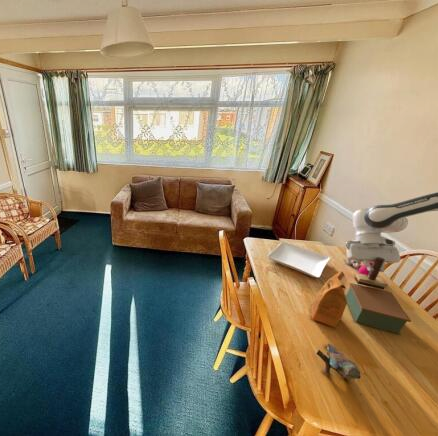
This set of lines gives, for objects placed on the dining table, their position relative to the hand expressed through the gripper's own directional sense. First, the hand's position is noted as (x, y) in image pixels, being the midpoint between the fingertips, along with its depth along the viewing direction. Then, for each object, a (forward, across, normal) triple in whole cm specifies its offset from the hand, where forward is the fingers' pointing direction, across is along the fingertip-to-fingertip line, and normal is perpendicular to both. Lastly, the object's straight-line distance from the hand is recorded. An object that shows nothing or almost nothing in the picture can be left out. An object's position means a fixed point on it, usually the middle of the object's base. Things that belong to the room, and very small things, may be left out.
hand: (376, 271), depth 104 cm
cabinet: (+19, -3, +5) cm, 20 cm away
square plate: (-8, -18, +32) cm, 37 cm away
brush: (+5, 0, +6) cm, 8 cm away
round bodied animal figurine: (-8, +12, +31) cm, 34 cm away
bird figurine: (+39, -35, -16) cm, 55 cm away
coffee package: (+22, -24, +2) cm, 33 cm away
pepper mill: (+1, +11, +22) cm, 25 cm away
